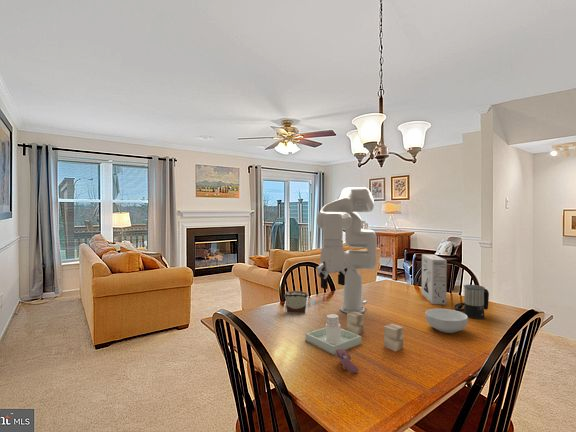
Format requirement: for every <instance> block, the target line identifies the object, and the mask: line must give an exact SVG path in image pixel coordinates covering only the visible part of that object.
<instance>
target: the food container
mask: <svg viewBox="0 0 576 432" xmlns="http://www.w3.org/2000/svg"><path fill="white" fill-rule="evenodd" d="M283 295H284V297H283V298H285V307H286V308H285V309H286V313H287V314H303V315H304V314H306V310H307V309H306V308H307V301H308V300H307V299H308V298H309V296H308V293H307V292H305V291H302V290H291V291H285V294H283Z"/></svg>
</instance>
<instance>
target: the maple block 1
mask: <svg viewBox="0 0 576 432" xmlns="http://www.w3.org/2000/svg"><path fill="white" fill-rule="evenodd" d="M346 330H347V331H349V332H352V333H354V334H357V335H359V336H360V335H361V334H364V313H358V312H355V311H354V312H351V313H346Z"/></svg>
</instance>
